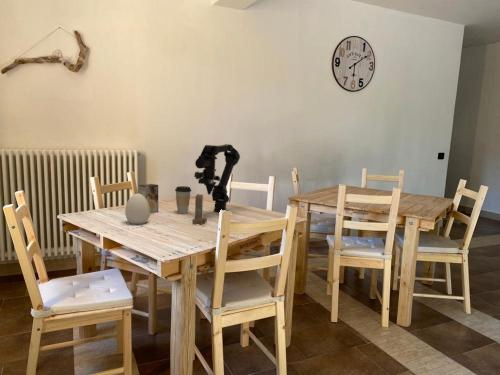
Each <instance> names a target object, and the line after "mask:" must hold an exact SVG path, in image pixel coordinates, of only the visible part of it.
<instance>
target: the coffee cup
mask: <svg viewBox="0 0 500 375" xmlns="http://www.w3.org/2000/svg"><path fill="white" fill-rule="evenodd" d="M174 192H175V200H176V201H175V202H176V207H177V209H176V210H177V213H178V214H181V215H183V214H184V215H185V214H188V213H189V205H190V200H191V192H192V189H191V186H177V187H175V191H174Z"/></svg>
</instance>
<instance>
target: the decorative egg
mask: <svg viewBox="0 0 500 375" xmlns="http://www.w3.org/2000/svg"><path fill="white" fill-rule="evenodd" d="M124 214H125V219H126V220H127V221H128V223H129V224H132V225H142V224H145V223H147V222H148V220H149V219H150V216H151V213H150V206H149V203H148V201H147V199H146V198H145V197H144V196H143V195H141V194H139V193H135V194H133V195H132V196H130V197H129V199H128V200H127V203H126V205H125V211H124Z"/></svg>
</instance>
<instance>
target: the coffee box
mask: <svg viewBox="0 0 500 375" xmlns="http://www.w3.org/2000/svg"><path fill="white" fill-rule="evenodd" d="M138 194H141V195H143V196H144V197H145V198H146V199H147V201H148V203H149V206H150V214H153V213H158V212H159V184H156V183H155V184H154V183H147V184H139V185H138Z"/></svg>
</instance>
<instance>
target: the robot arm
mask: <svg viewBox="0 0 500 375" xmlns="http://www.w3.org/2000/svg"><path fill="white" fill-rule="evenodd" d="M220 153H223V156H224V161H225V166H224V169H223V171H222V174H221V176H220V175H216V171H217V169H216V160H217V159H218V157H217V155H219V154H220ZM240 158H241V156H240V152H239V151H238V150H237V149H235V147H233V145H232V144H230V143H229V144H228V143H224V144H221V145H214V144H213V145H211V144H206V145H204V147H203V149H202V150H201V153H200V155H198V158H196V160H195V163H194V164H195V167H196V169H197V168H198V169H202V171H201V172H200V171H195V172H194V176H193V178H195V179H196V180H198V184H203V185H205V188H206V191H207V192H206V193H207V195H211V198H212V202H214V209H213V210H214V211H213V212H216V211H220V210H221V209H222V210H227V203H229V201H230V197H229V195H228V190H227V188H228V187H227V186H228V183H229V180H230V177H231V174H232V171H233V169H234V167H235V166H237V165H238V163H239V161H240ZM216 181H217V182H218V184H217V182H216ZM216 184H217V185H216Z"/></svg>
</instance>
